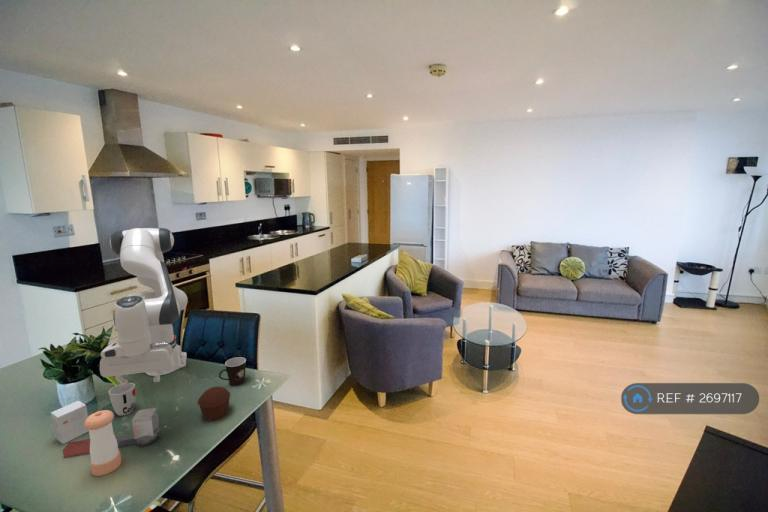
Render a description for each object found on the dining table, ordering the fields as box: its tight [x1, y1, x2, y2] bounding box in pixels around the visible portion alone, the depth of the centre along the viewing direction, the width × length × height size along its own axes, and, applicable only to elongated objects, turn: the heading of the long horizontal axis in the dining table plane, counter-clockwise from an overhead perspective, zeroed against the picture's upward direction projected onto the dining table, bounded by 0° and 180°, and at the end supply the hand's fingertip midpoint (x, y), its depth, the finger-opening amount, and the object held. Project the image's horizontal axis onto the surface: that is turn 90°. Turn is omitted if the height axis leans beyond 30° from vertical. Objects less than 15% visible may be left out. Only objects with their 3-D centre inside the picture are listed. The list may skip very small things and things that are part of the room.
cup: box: [108, 382, 136, 417], centre depth 132 cm, size 8×8×10 cm
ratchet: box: [62, 426, 161, 459], centre depth 115 cm, size 7×26×6 cm, turn 107°
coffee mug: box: [218, 356, 247, 387], centre depth 152 cm, size 12×9×10 cm
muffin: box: [197, 386, 231, 421], centre depth 131 cm, size 12×11×10 cm
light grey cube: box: [131, 407, 160, 439], centre depth 117 cm, size 6×6×7 cm
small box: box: [50, 400, 89, 445], centre depth 119 cm, size 8×6×10 cm
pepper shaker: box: [84, 409, 123, 477], centre depth 104 cm, size 7×7×19 cm
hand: (141, 383), depth 114 cm, fingers open, 8 cm apart
